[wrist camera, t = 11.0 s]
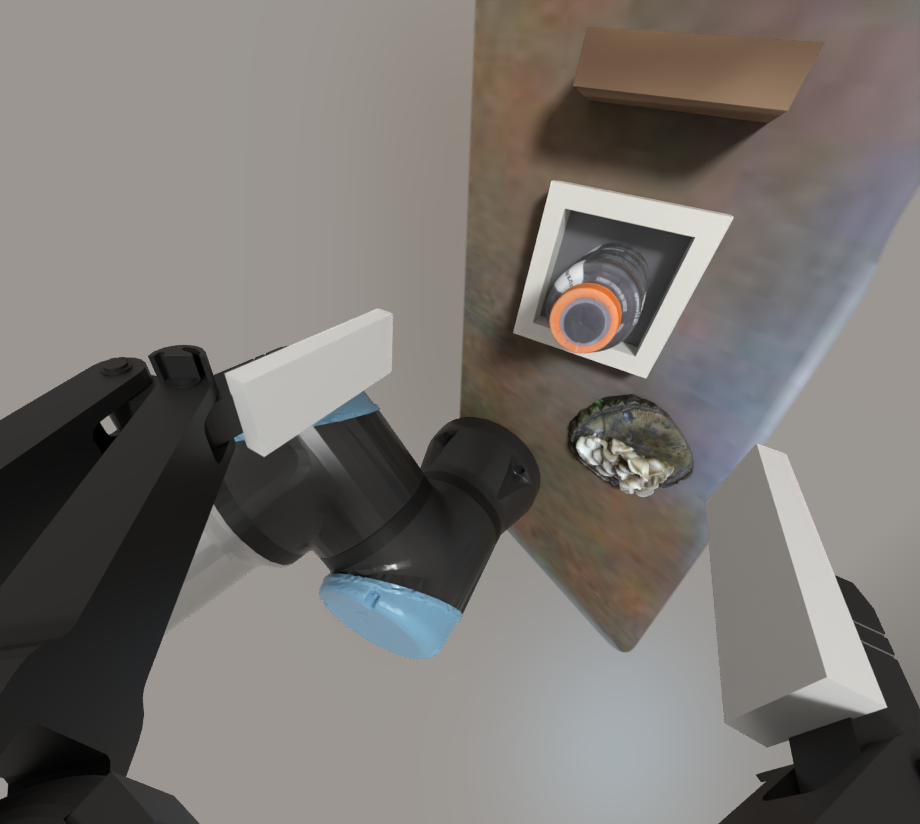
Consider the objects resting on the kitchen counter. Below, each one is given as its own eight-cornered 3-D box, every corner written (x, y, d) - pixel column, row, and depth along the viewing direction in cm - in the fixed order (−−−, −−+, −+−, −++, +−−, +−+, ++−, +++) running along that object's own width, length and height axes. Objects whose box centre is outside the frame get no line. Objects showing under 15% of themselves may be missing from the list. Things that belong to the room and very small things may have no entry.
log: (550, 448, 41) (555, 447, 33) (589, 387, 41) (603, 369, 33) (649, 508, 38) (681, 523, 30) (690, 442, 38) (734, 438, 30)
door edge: (768, 123, 21) (787, 110, 18) (588, 100, 24) (572, 85, 21) (796, 68, 20) (824, 42, 16) (602, 51, 23) (587, 26, 19)
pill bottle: (564, 257, 30) (520, 287, 21) (642, 229, 26) (626, 252, 18) (581, 324, 32) (547, 376, 23) (655, 306, 29) (646, 359, 20)
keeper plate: (647, 366, 31) (646, 378, 29) (521, 324, 35) (513, 332, 33) (729, 214, 24) (733, 217, 22) (559, 180, 27) (551, 180, 26)
